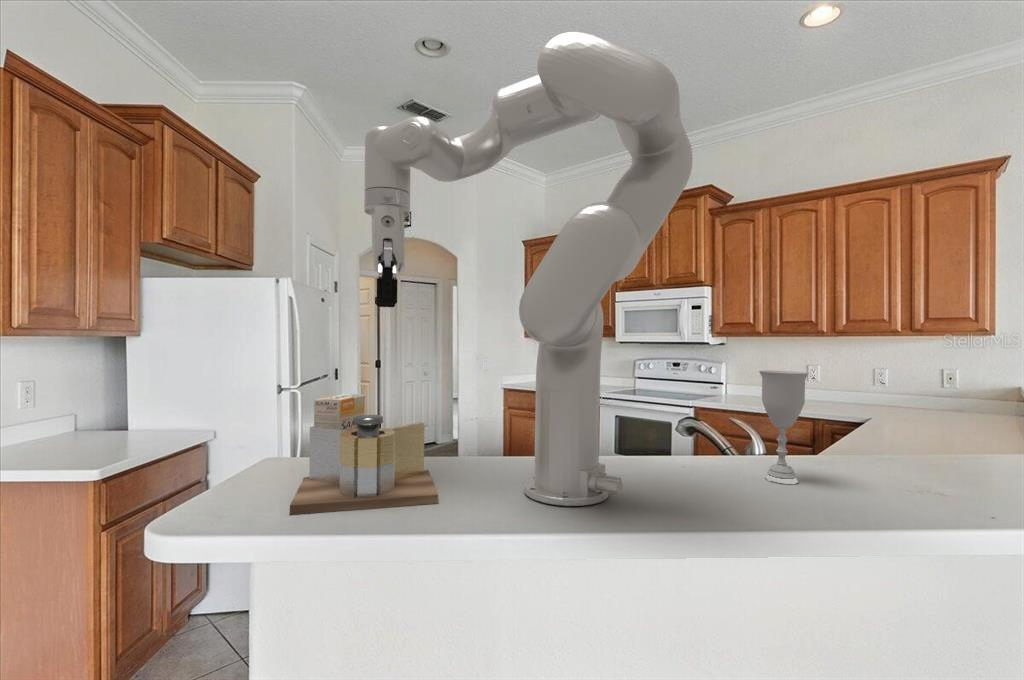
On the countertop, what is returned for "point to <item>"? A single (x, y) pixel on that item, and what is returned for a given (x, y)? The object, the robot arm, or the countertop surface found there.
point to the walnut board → (330, 499)
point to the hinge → (366, 458)
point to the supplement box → (338, 411)
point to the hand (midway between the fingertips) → (386, 305)
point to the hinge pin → (368, 424)
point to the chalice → (783, 410)
